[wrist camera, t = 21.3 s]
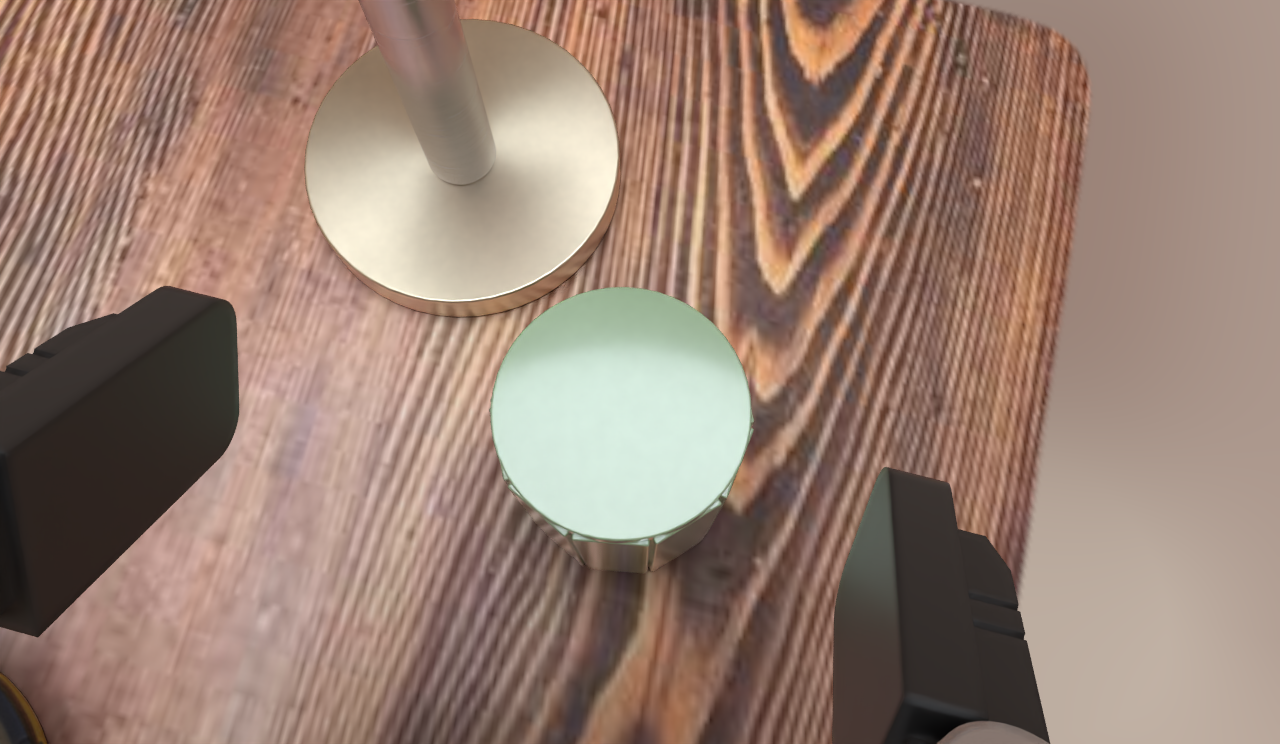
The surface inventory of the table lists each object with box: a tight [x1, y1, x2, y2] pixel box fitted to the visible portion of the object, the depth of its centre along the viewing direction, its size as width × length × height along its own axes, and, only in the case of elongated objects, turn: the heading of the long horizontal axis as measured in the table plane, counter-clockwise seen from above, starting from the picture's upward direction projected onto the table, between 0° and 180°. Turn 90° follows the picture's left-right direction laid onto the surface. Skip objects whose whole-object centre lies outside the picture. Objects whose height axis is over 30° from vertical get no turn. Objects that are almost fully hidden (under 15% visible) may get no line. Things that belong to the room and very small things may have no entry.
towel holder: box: [304, 0, 621, 317], centre depth 29 cm, size 11×11×14 cm
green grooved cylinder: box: [489, 287, 754, 574], centre depth 28 cm, size 6×7×9 cm
